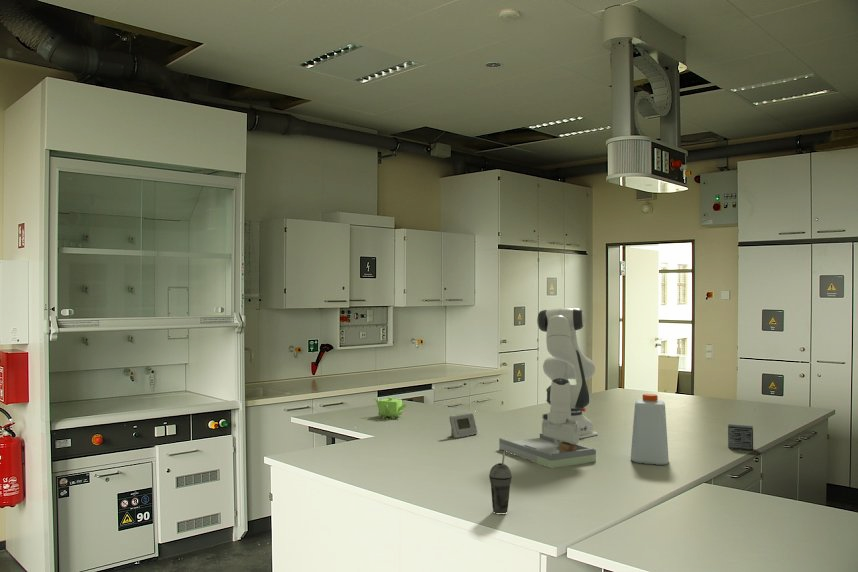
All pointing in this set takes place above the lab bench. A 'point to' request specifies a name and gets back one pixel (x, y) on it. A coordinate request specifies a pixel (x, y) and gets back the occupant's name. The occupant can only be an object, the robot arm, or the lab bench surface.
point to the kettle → (390, 407)
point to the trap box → (547, 452)
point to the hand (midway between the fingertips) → (560, 450)
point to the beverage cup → (500, 486)
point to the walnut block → (567, 447)
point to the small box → (740, 437)
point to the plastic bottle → (649, 431)
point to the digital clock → (463, 425)
